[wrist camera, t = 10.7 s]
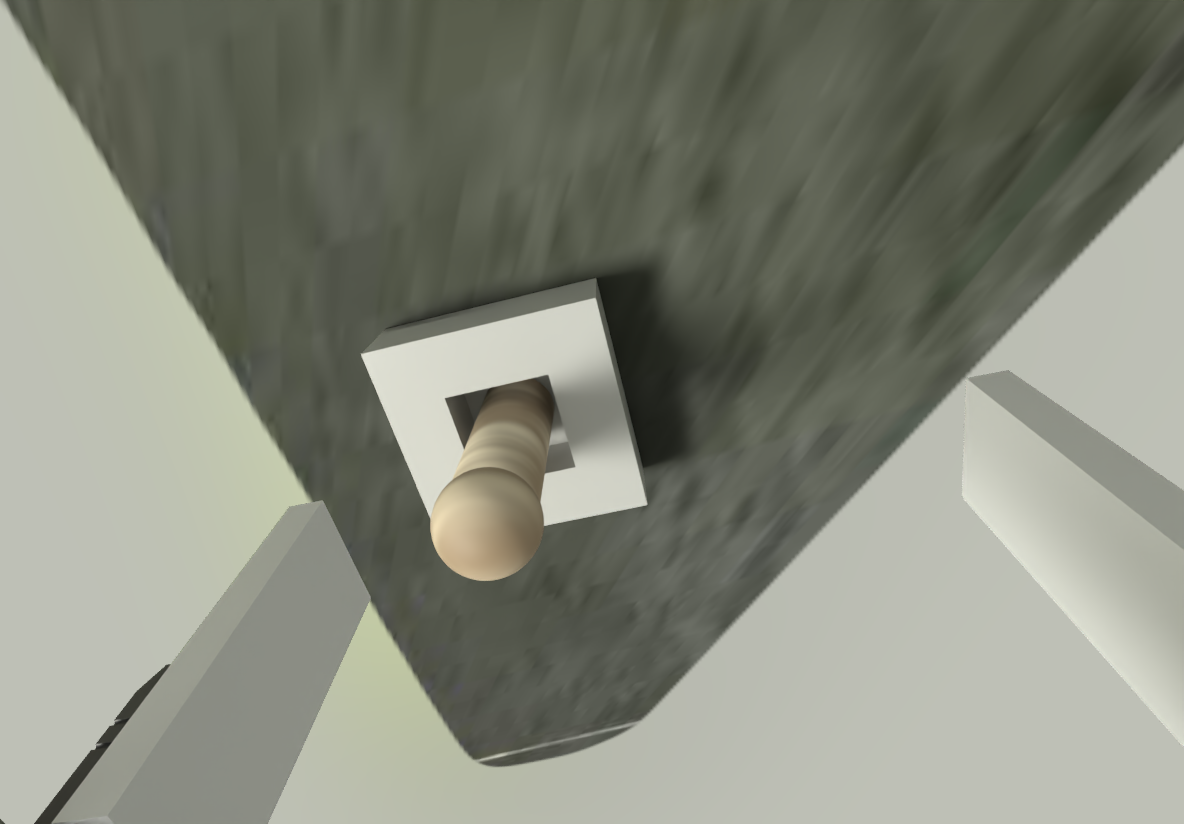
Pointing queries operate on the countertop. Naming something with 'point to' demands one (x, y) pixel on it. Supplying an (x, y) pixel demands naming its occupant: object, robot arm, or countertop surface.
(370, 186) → the countertop surface
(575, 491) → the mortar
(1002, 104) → the countertop surface
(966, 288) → the countertop surface
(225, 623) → the robot arm
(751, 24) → the countertop surface
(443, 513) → the pestle
